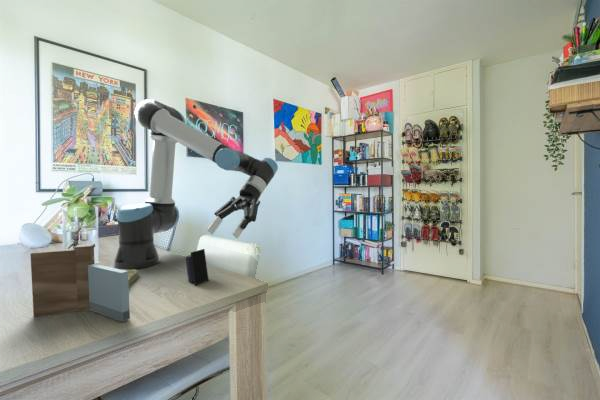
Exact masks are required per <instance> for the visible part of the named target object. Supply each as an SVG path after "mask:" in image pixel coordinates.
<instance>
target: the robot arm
mask: <svg viewBox="0 0 600 400" xmlns="http://www.w3.org/2000/svg"><path fill="white" fill-rule="evenodd" d="M134 116H135V119H136V121H137V122H138V124H139V125H140V126H142V127H143V128H145V129H147V130H149V138H151V139H152V141H153V143H152V154H151V158H152V159H151V171H150V187H149V197H147V198H146V199H145V201H144V202H143V203H142V202H141V203H132V204H127V205H123V206H121V207H119V209H118V211H117V212H118V215H117V226H118V228H117V231H118V249H117V253H116V255H115V258H114V262H113V263H114V264H113V265H114V267H113V268H116V269H125V270H126V269H127V270H132V269H136V270H138V269H144V268H149V267H153V266H155V265H157V264H159V262H160V254H159V253H158V251H157V250H158V249H157V247H156V246H155V241H154V234H158V233H161V232H162V233H163V232H167V231H169V230H171V229H173V228H174V227H175V226H177V225H178V222H179V219H180V212H179V210H178V209H177V207H176V201H175V200H174V199H173V198H172V197H173V183H174V182H173V181H174V169H175V153H176V144H177V143H178V144H181V145H182V146H184V147H186V148H188V150H189V149H190V150H191V151H193V152H195V153H197V154H198V155H201V156H202V157H203V158H205V159H208V160H209V161H211V162H213V163H215V164H216V165H217V166H218V167H219V168H220V169H222V170H225V171H232V172H240V173H243V174H244V175H248V176H249V178H248V179H247V180H246V181H245V183H244V185H243V186H242V187H241V189H240V190H239V195H238V197H237V198H236V197H235V196H232V197H231V198H230V199H229V200H228V201H227V202H225V204H223V205H222V206H221V207H219V209H217V210H215V212H214V213H213V215H215V218H214V219H213V220H212V222H211V223H210V225H209V226H208V227H207V229H206V231H208V233H210V234H211V235H213V234H214V233H215V232H216V230H217V229H218V228H219V227H220V225H221V223H222V222H223V219H225V218H226V217H227V216H229V215H231V214H232V213H234V212H238V211H241V210H242V211H243V218H241V219H240V220H239V222H238V223H237V224H236V226H235V228H234V229H233V231H232V232H231V234H232V236H233V237H234V238H236V239H239V238H240V236H241V234H242V233H243V231H244V230H245V229H246V228H247V227H248V225H249V223H251V222H253V223H254V222H256V221H257V215H258V210H259V206H260V204H261V201H260V200H259V199H260V197H261V195H262V194H263V193H264V191H265V190H266V188H267V187H268V185H269V184H270V182H271V181H272V179H273V178H274V177H275V175H276V173H277V171H278V169H279V167H278V164H277V162H276V161H275V160H274V159H272V158H271V157H265V158H263V159H261V160H260V159H258V158H256V157H253V156H251V155H249V154H247V153H244V152H243V151H240V150H237V149H233V148H231V147H229V146H227V145H225V144H224V143H222V142H220V141H218V140H217V139H214V138H213V137H211V136H209V135H207V134H205V133H204V132H202V131H200V130H198V129H196V128H195V127H193V126H191V125H189V124H188V123H186V119H185V117H184V115H183V114H182V113H181V112H180V111H178V110H177V109H175V107H171V106H169V105H167V104H164V103H162V102H159V101H158V100H156V99H150V98H149V99H144V100H142V101H139V103H137V105H136V107H135V110H134Z"/></svg>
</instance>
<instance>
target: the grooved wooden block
mask: <svg viewBox="0 0 600 400" xmlns="http://www.w3.org/2000/svg"><path fill="white" fill-rule="evenodd" d="M95 248H96V243H87V244H86V243H85V244H78V245H76V246H73V248H67V249H55V250H54V249H52V250H39V251H38V250H37V251H33V252H30V269H31V270H30V273H31V288H32V289H31V291H32V310H33V317H34V318H37V317H44V316H51V315H58V314H64V313H70V312H71V313H72V312H76V311H77V312H82V311H90V310H89V281H88V265H92V264H96V263H95Z"/></svg>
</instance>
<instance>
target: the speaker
mask: <svg viewBox="0 0 600 400" xmlns="http://www.w3.org/2000/svg"><path fill="white" fill-rule="evenodd" d="M205 251H206V250H205V248H203V249H200V250H195V251H191V252H190V254H189V255H186V256H185V264H186V271H187V280H188V283H194V286H195V287H197V286H199V285H202V284H204V283H207V282H208V281H209V275H208V274H209V273H208V267H207V266H208V265H207V258H206V252H205Z"/></svg>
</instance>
